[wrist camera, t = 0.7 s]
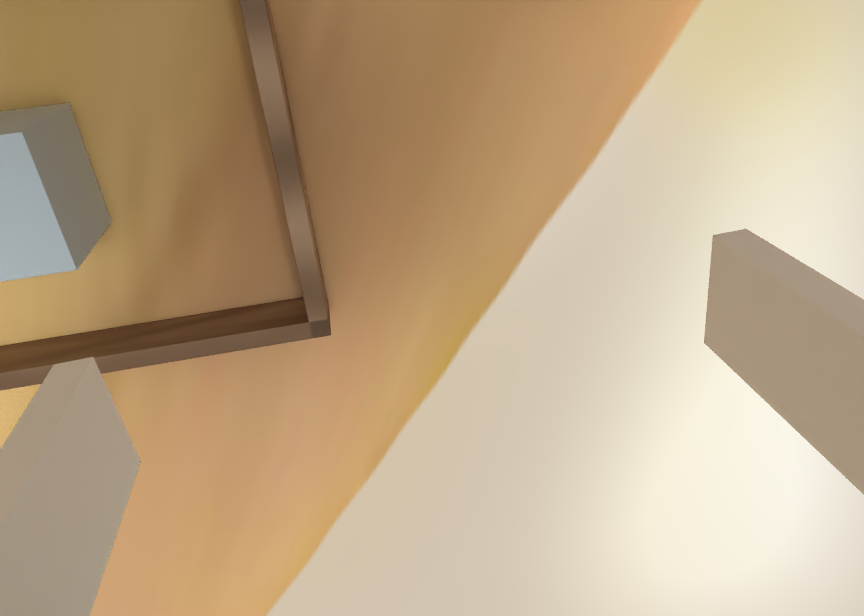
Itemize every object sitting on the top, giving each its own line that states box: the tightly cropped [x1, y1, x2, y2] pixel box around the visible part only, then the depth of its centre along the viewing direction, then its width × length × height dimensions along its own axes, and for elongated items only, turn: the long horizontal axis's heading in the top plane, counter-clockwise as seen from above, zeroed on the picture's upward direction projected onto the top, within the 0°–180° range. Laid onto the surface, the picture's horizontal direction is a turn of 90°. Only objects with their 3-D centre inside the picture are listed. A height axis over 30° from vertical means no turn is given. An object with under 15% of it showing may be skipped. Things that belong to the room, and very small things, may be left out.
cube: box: [0, 103, 112, 282], centre depth 29 cm, size 6×6×6 cm
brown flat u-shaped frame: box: [0, 0, 331, 390], centre depth 31 cm, size 20×21×3 cm
